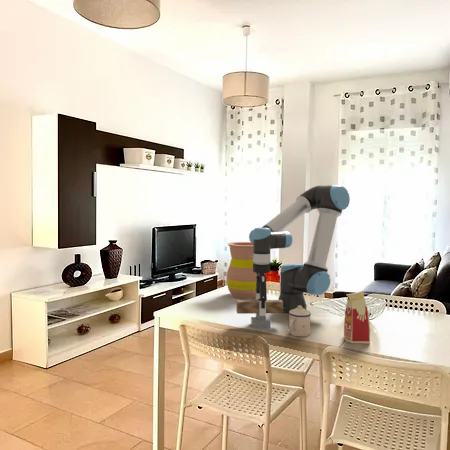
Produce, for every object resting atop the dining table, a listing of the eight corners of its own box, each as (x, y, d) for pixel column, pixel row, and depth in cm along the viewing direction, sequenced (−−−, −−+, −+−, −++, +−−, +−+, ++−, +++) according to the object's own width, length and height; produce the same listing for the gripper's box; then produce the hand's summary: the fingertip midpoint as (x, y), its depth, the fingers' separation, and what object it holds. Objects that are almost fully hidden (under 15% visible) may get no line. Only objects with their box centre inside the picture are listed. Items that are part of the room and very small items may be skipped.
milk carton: (363, 336, 177) (364, 287, 176) (371, 343, 168) (373, 292, 167) (341, 336, 177) (342, 287, 176) (348, 343, 168) (349, 292, 167)
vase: (221, 292, 255) (222, 242, 253) (256, 290, 262) (256, 241, 260) (233, 301, 234) (233, 246, 232) (270, 299, 241) (271, 245, 239)
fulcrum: (268, 323, 193) (268, 310, 193) (270, 327, 187) (270, 314, 187) (250, 323, 193) (251, 310, 193) (252, 327, 187) (252, 314, 187)
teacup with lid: (295, 328, 186) (296, 302, 186) (314, 333, 180) (315, 305, 180) (280, 335, 177) (280, 307, 176) (299, 340, 171) (300, 311, 171)
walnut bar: (281, 310, 192) (281, 299, 192) (282, 313, 188) (283, 302, 188) (236, 311, 191) (236, 300, 191) (237, 313, 187) (237, 302, 187)
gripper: (250, 259, 201) (249, 304, 202) (255, 267, 176) (255, 319, 178) (266, 259, 201) (265, 304, 202) (274, 267, 176) (273, 319, 178)
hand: (260, 311), depth 190 cm, fingers open, 12 cm apart
